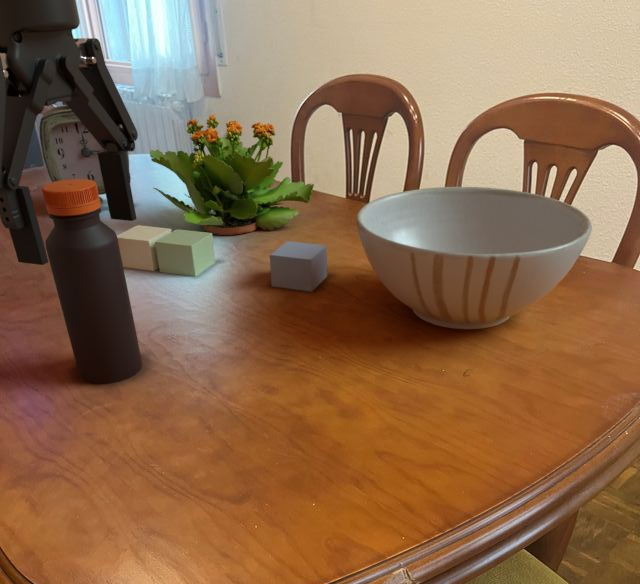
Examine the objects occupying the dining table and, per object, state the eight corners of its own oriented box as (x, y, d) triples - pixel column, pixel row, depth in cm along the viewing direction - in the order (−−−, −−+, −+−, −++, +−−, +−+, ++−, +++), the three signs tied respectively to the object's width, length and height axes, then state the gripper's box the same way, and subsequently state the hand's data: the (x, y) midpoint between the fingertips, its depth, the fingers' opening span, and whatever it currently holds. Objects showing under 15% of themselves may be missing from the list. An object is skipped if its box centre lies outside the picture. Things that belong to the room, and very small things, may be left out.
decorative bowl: (451, 385, 68) (463, 274, 62) (316, 300, 87) (313, 208, 81) (619, 323, 80) (644, 223, 73) (467, 260, 99) (476, 176, 92)
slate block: (271, 290, 91) (269, 254, 88) (288, 274, 95) (287, 240, 93) (312, 295, 89) (310, 259, 86) (327, 279, 94) (327, 245, 91)
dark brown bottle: (155, 364, 74) (121, 179, 62) (116, 393, 69) (72, 197, 57) (107, 354, 76) (66, 173, 65) (66, 381, 71) (14, 190, 60)
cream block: (120, 269, 99) (113, 237, 96) (143, 256, 103) (137, 224, 100) (154, 274, 97) (148, 241, 94) (176, 260, 101) (171, 228, 99)
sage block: (160, 275, 96) (154, 241, 94) (181, 261, 101) (176, 229, 98) (196, 279, 95) (191, 245, 92) (216, 265, 99) (212, 232, 96)
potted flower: (241, 261, 100) (229, 138, 91) (126, 239, 110) (105, 126, 101) (321, 217, 118) (319, 111, 109) (216, 202, 128) (206, 103, 119)
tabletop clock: (57, 217, 122) (20, 64, 108) (61, 204, 129) (27, 59, 115) (137, 210, 124) (111, 60, 110) (137, 198, 132) (112, 56, 118)
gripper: (-74, -30, 41) (21, 290, 53) (149, -28, 60) (182, 207, 72) (-158, -26, 44) (-49, 280, 55) (82, -25, 63) (125, 202, 75)
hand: (82, 239), depth 64 cm, fingers open, 13 cm apart
